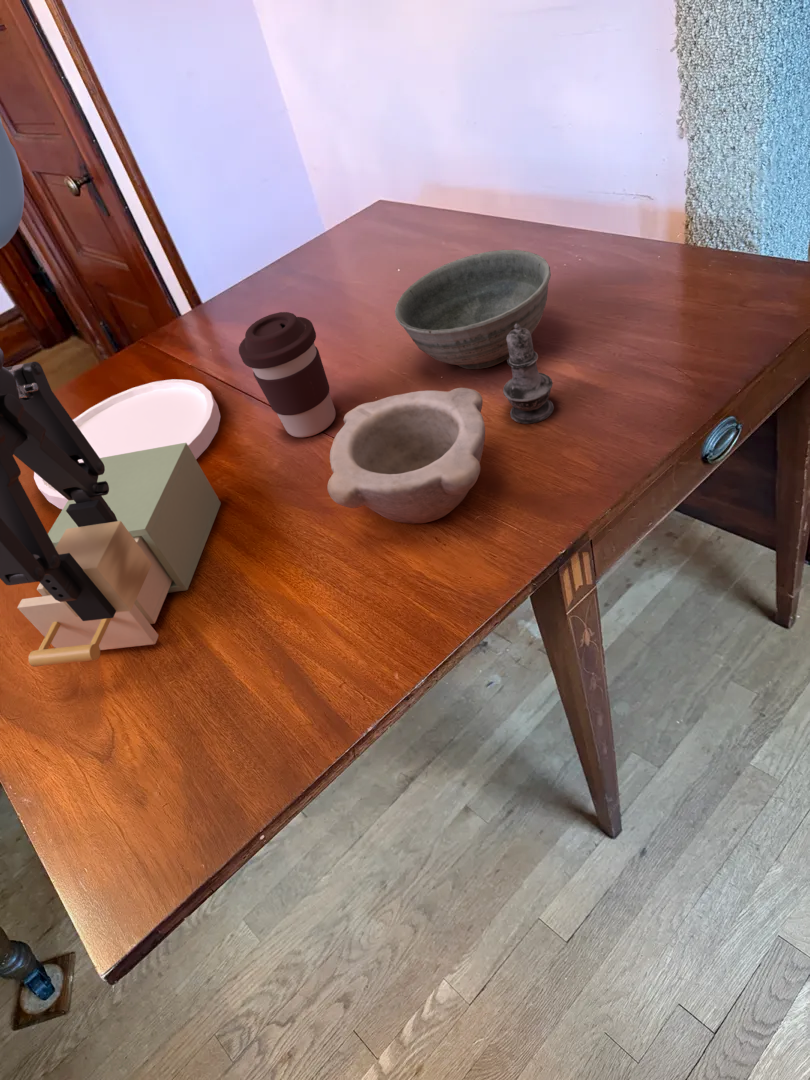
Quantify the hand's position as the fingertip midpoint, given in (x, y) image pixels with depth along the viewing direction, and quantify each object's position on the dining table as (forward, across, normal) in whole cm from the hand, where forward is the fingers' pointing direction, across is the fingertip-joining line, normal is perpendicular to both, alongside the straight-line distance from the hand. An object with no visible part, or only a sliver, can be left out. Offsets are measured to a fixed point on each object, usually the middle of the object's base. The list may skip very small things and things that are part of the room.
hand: (112, 587), depth 60 cm
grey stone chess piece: (+18, +40, -32) cm, 54 cm away
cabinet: (+17, +23, +14) cm, 32 cm away
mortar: (+18, +26, -20) cm, 37 cm away
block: (0, 0, 0) cm, 0 cm away
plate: (+18, +47, +27) cm, 57 cm away
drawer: (+16, +12, +14) cm, 24 cm away
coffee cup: (+18, +45, -2) cm, 49 cm away
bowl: (+18, +55, -26) cm, 64 cm away
